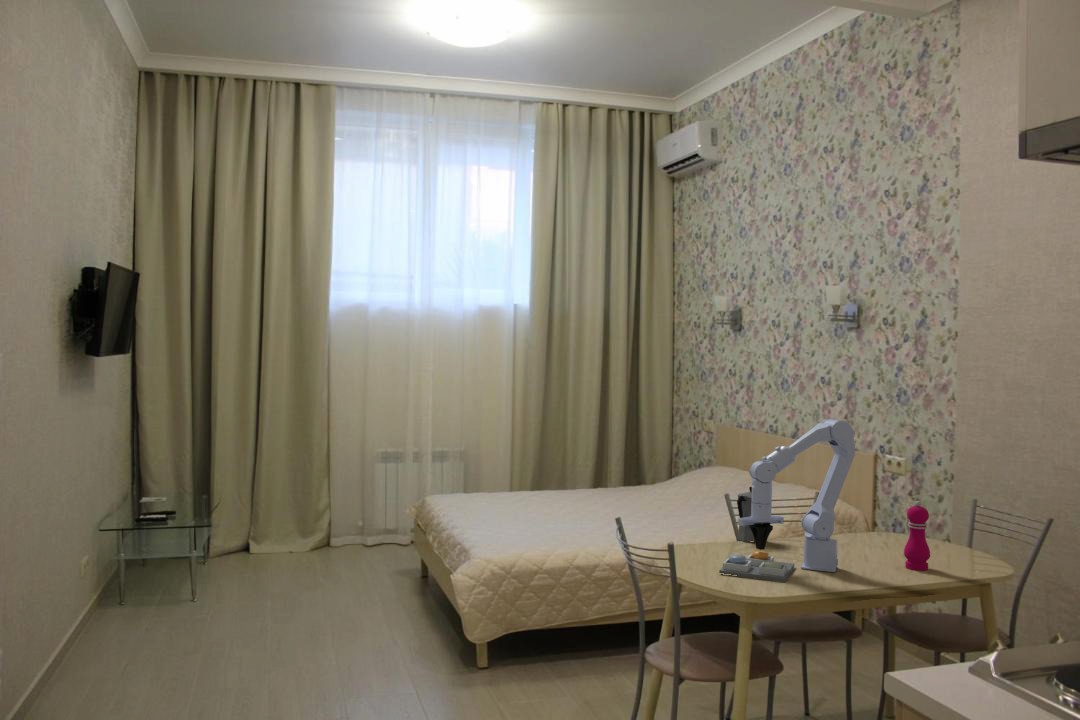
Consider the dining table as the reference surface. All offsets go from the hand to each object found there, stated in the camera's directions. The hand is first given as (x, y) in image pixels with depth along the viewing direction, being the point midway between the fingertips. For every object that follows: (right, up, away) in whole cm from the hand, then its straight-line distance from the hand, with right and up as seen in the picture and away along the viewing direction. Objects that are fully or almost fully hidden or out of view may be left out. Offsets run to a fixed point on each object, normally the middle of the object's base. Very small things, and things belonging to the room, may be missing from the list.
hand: (760, 549), depth 255 cm
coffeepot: (+6, -6, +39) cm, 40 cm away
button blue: (-8, -2, -6) cm, 11 cm away
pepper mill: (+47, -7, +3) cm, 48 cm away
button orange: (0, -3, 0) cm, 3 cm away
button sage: (+1, -4, -10) cm, 11 cm away
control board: (-2, -5, -4) cm, 7 cm away
